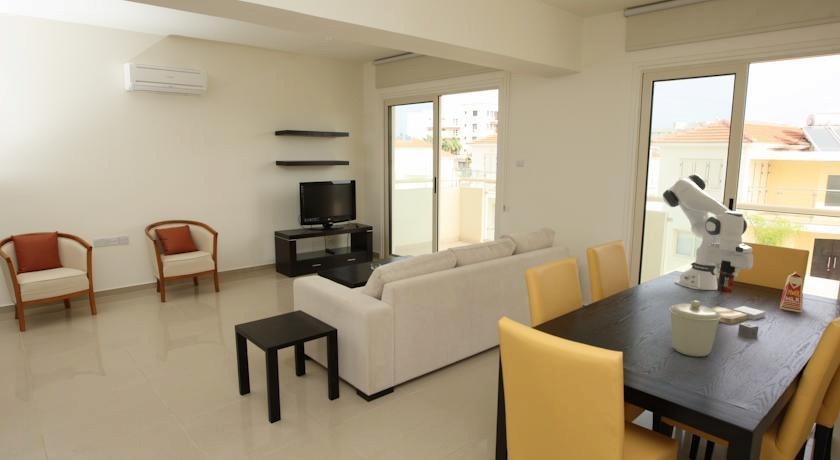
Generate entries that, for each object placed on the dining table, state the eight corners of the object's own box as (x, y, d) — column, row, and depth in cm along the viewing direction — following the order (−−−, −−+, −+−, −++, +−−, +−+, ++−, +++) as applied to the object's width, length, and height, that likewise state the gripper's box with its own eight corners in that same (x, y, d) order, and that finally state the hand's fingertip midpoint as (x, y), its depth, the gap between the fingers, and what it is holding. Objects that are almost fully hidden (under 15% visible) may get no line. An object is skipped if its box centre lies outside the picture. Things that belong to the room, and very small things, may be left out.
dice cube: (737, 334, 217) (739, 323, 216) (746, 333, 219) (747, 322, 218) (748, 338, 213) (750, 327, 212) (757, 337, 214) (758, 326, 214)
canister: (671, 339, 211) (676, 291, 207) (720, 350, 199) (726, 300, 196) (660, 352, 197) (664, 301, 193) (712, 365, 185) (718, 311, 182)
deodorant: (728, 290, 240) (732, 260, 238) (734, 293, 234) (738, 262, 232) (714, 289, 241) (719, 259, 238) (720, 292, 235) (725, 261, 233)
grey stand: (732, 313, 244) (732, 309, 244) (742, 310, 250) (743, 306, 249) (754, 320, 236) (754, 314, 236) (764, 316, 241) (765, 311, 241)
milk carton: (802, 312, 248) (807, 273, 245) (779, 308, 253) (784, 270, 250) (802, 308, 255) (807, 270, 252) (780, 304, 260) (785, 267, 257)
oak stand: (701, 315, 242) (701, 310, 241) (717, 311, 249) (717, 305, 248) (731, 324, 230) (731, 318, 229) (747, 319, 237) (747, 314, 236)
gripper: (704, 242, 241) (701, 270, 243) (749, 250, 224) (745, 280, 226) (711, 241, 244) (708, 269, 247) (756, 249, 227) (753, 278, 229)
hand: (726, 274), depth 236 cm, fingers closed on deodorant, 6 cm apart
